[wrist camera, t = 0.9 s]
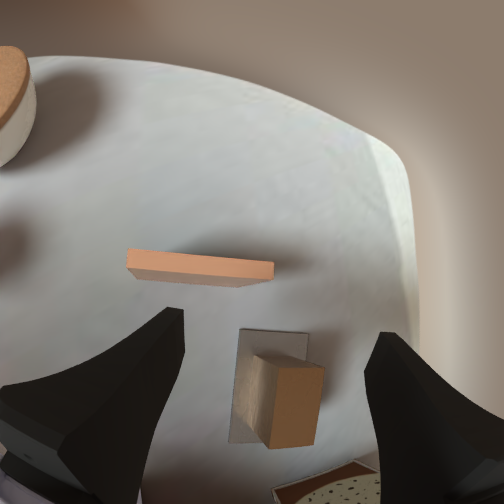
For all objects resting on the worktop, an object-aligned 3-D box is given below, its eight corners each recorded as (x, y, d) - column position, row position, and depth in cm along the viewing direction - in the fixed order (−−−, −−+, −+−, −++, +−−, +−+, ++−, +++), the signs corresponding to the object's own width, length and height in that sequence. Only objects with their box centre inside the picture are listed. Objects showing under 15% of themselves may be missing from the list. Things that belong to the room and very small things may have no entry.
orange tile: (237, 287, 25) (273, 279, 17) (137, 279, 22) (126, 267, 15) (238, 274, 25) (274, 260, 17) (138, 265, 23) (128, 246, 15)
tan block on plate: (292, 437, 24) (324, 464, 18) (227, 440, 22) (247, 473, 17) (305, 333, 26) (343, 339, 20) (238, 328, 24) (263, 336, 19)
